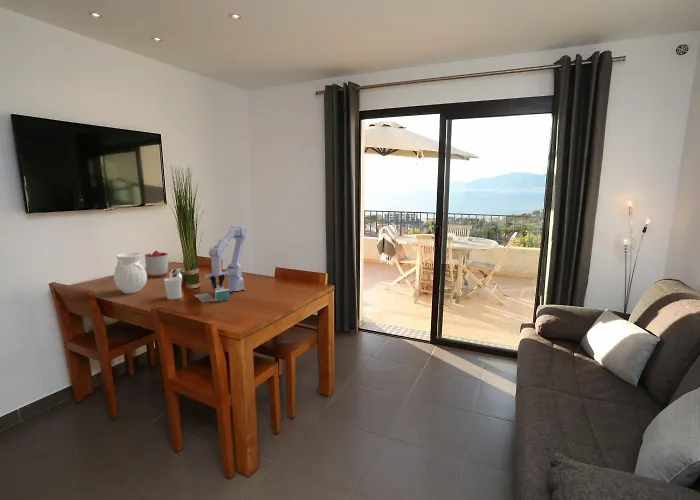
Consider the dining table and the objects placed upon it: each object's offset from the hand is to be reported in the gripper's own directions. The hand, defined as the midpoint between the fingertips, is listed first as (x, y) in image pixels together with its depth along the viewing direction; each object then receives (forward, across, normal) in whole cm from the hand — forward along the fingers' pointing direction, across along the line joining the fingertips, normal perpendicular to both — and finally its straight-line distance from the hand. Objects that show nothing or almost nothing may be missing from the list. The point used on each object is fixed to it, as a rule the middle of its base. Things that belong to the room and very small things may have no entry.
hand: (217, 287), depth 228 cm
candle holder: (+7, +21, -18) cm, 29 cm away
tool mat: (+7, +7, -4) cm, 11 cm away
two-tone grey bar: (+2, 0, 0) cm, 2 cm away
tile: (+7, 0, +7) cm, 10 cm away
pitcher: (+7, +39, -48) cm, 62 cm away
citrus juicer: (+7, +16, -82) cm, 83 cm away
